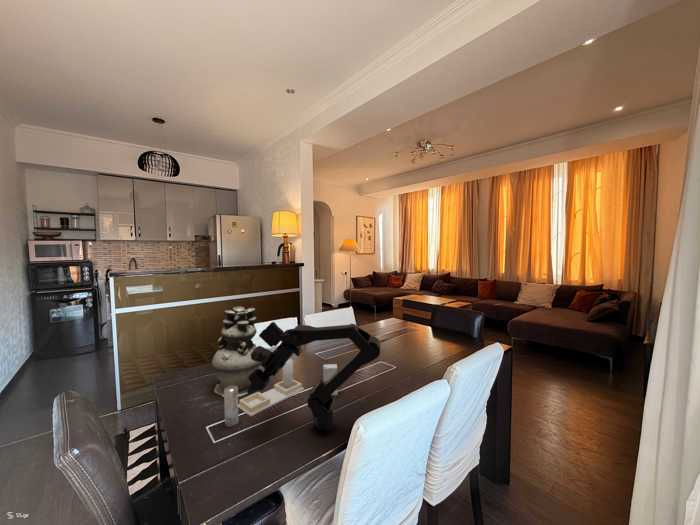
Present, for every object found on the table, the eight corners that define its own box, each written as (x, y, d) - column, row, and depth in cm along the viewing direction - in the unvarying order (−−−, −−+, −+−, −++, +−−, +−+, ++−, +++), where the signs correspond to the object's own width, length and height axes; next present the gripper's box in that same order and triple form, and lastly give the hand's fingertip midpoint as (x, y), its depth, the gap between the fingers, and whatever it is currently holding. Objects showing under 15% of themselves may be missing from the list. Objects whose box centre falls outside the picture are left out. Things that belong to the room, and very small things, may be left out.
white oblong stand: (303, 389, 123) (303, 360, 122) (250, 416, 104) (250, 382, 103) (289, 382, 129) (289, 354, 129) (237, 406, 110) (236, 373, 109)
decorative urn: (272, 383, 130) (273, 308, 128) (232, 404, 112) (233, 316, 110) (241, 371, 141) (242, 302, 139) (200, 389, 122) (201, 309, 121)
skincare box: (337, 390, 123) (337, 363, 122) (338, 395, 118) (338, 367, 117) (323, 391, 122) (323, 363, 121) (323, 396, 118) (323, 368, 117)
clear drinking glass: (240, 422, 100) (240, 388, 100) (228, 428, 97) (227, 393, 96) (234, 417, 103) (233, 384, 102) (222, 423, 100) (221, 388, 99)
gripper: (275, 331, 107) (250, 360, 110) (251, 349, 89) (222, 383, 91) (296, 351, 107) (271, 379, 109) (277, 373, 88) (247, 407, 91)
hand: (254, 386), depth 100 cm, fingers open, 9 cm apart
